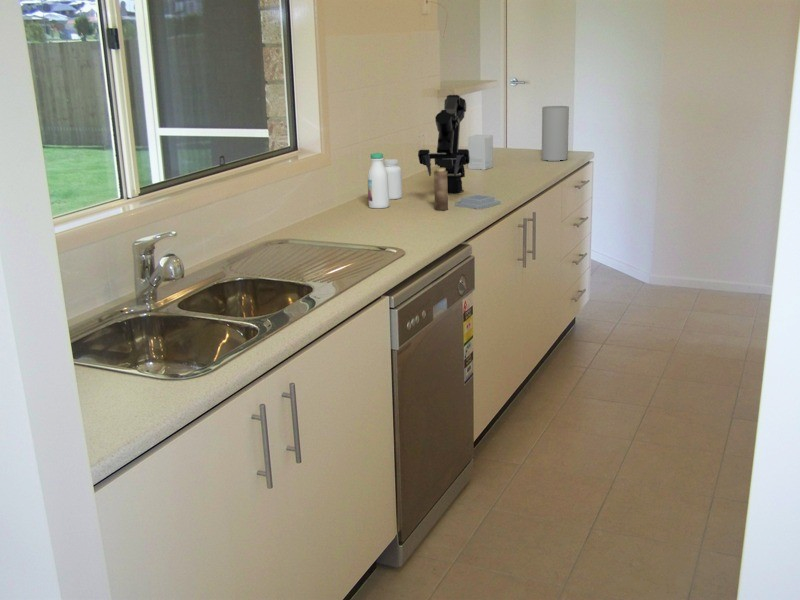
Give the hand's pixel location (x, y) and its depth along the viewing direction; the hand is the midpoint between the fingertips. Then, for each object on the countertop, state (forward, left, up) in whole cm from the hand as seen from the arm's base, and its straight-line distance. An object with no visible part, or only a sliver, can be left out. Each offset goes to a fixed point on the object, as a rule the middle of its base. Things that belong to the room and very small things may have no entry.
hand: (442, 175), depth 319 cm
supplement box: (-43, +80, -12) cm, 91 cm away
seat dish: (+8, +11, -12) cm, 18 cm away
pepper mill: (+2, -3, -12) cm, 13 cm away
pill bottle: (-29, +4, -12) cm, 31 cm away
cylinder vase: (-27, +118, -12) cm, 121 cm away
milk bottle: (-21, -12, -12) cm, 27 cm away
